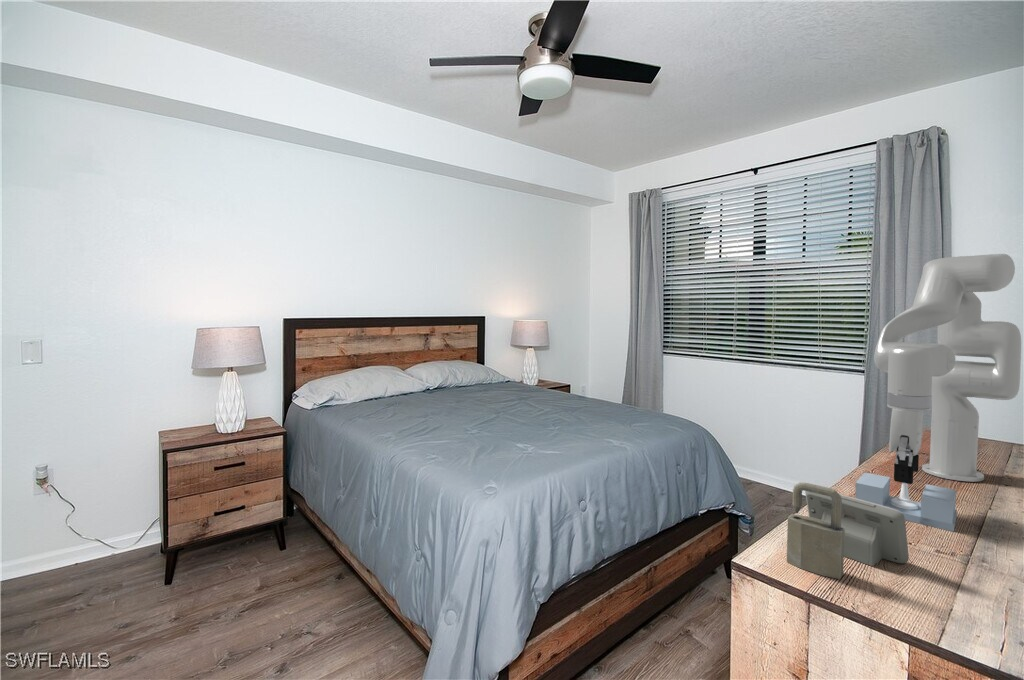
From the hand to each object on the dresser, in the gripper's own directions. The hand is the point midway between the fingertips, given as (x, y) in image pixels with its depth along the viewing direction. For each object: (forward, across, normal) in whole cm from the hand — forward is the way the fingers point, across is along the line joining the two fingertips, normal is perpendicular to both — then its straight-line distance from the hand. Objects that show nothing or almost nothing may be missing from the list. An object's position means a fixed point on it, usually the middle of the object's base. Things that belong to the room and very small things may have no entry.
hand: (906, 476), depth 107 cm
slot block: (+8, +1, 0) cm, 8 cm away
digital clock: (+8, +30, -5) cm, 31 cm away
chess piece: (+7, +1, 0) cm, 7 cm away
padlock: (+7, +42, -8) cm, 43 cm away
